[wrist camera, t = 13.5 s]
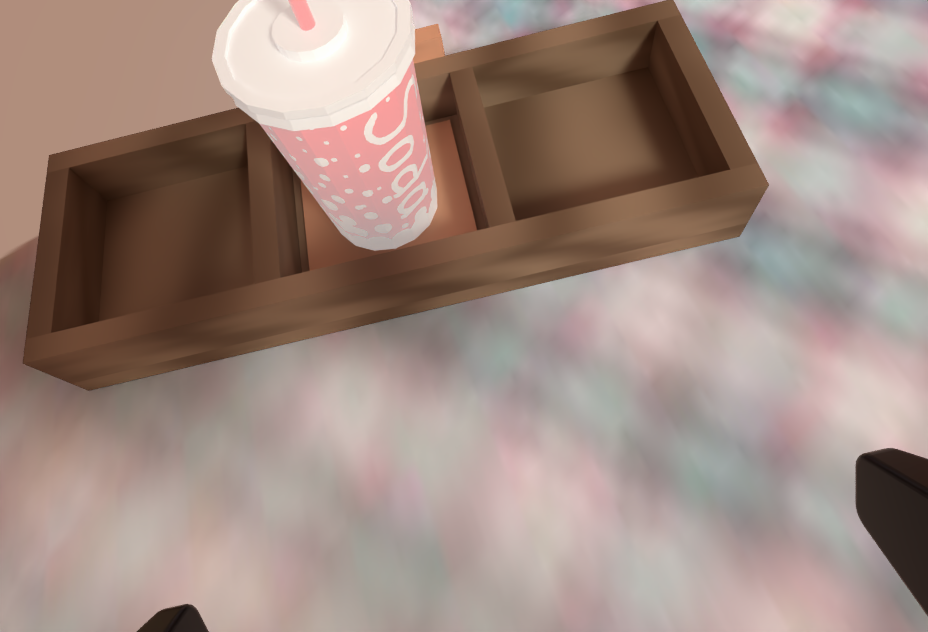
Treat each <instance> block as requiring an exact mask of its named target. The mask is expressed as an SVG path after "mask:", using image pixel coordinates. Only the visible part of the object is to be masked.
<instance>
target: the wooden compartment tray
mask: <svg viewBox="0 0 928 632" xmlns="http://www.w3.org/2000/svg"><path fill="white" fill-rule="evenodd" d="M413 62H414V68H415V73H416V79H417V84H418V90H419V95H420V100H421V106H422V111H423V117H424V122H425V128H426V133H427V139H428V144H429V150H430V155H431V161H432V166H433V172H434V177H435V182H436V188H437V210H436V212H435V214H434V216H433V219H432V221H431V223H430V225H429V226H428V227H427V228H426V229H425V230H424V231H423V232H422V233H421V234H420V235H419V236H418V237H417V238H416V239H415V240H413V241H411V242H408V243H406V244H404V245H402V246H400V247H398V248H396V249H386V250H376V251H374V250H370V249H366V248H363V247H359V246H355V245H354V244H353V243H352V242H350V241H349V240H348V239H347V238H346V237H344V236H343V235H342V234H341V233H340V231H339V230H338V229H337V227H336V226H335V225H334V223H333V222H332V221H331V219H330V218H329V217H328V215H327V214H326V213H325V211H324V210H323V209H322V207H321V206H320V205H319V203H318V202H317V201H316V199H315V198H314V197H313V195H312V194H311V192H310V191H309V190H308V188H307V187H306V186H305V184H304V183H303V182H302V180H301V179H300V178H299V176H298V175H297V174H296V172H295V171H294V170H293V168H292V167H291V166H290V164H289V163H288V162H287V160H286V159H285V158H284V156H283V155H282V153H281V152H280V151H279V149H278V148H277V147H276V145H275V144H274V143H273V141H272V140H271V139H270V137H269V136H268V135H267V133H266V132H265V131H264V129H263V128H262V127H261V125H260V124H259V123H258V122H257V121H255V120H254V119H253V118H251V117H250V116H249V115H248V114H246V113H245V112H244V111H242V110H241V109H240V108H236V109H232V110H228V111H224V112H220V113H216V114H212V115H208V116H204V117H200V118H196V119H192V120H188V121H184V122H180V123H176V124H172V125H168V126H164V127H160V128H156V129H152V130H148V131H144V132H140V133H136V134H132V135H128V136H124V137H120V138H116V139H112V140H108V141H104V142H100V143H96V144H92V145H88V146H84V147H80V148H76V149H72V150H68V151H65V152H60V153H56V154H52V155H49V160H48V168H47V177H46V184H45V192H44V200H43V207H42V215H41V224H40V231H39V239H38V247H37V255H36V263H35V271H34V278H33V286H32V294H31V302H30V310H29V318H28V326H27V334H26V342H25V349H24V357H23V364H25V365H28V366H30V367H33V368H35V369H37V370H40V371H42V372H45V373H47V374H50V375H52V376H54V377H57V378H59V379H62V380H64V381H67V382H69V383H71V384H74V385H76V386H79V387H81V388H84V389H86V390H88V391H89V390H93V389H97V388H102V387H106V386H110V385H114V384H119V383H123V382H127V381H131V380H135V379H140V378H144V377H148V376H152V375H157V374H161V373H165V372H169V371H173V370H178V369H182V368H186V367H190V366H195V365H199V364H203V363H207V362H211V361H216V360H220V359H224V358H228V357H233V356H237V355H241V354H245V353H249V352H254V351H258V350H262V349H266V348H271V347H275V346H279V345H283V344H287V343H292V342H296V341H300V340H304V339H309V338H313V337H317V336H321V335H325V334H330V333H334V332H338V331H342V330H346V329H351V328H355V327H359V326H363V325H368V324H372V323H376V322H380V321H384V320H389V319H393V318H397V317H401V316H406V315H410V314H414V313H418V312H422V311H427V310H431V309H435V308H439V307H444V306H448V305H452V304H456V303H460V302H465V301H469V300H473V299H477V298H482V297H486V296H490V295H494V294H498V293H503V292H507V291H511V290H515V289H520V288H524V287H528V286H532V285H536V284H541V283H545V282H549V281H553V280H558V279H562V278H566V277H570V276H574V275H579V274H583V273H587V272H591V271H595V270H600V269H604V268H608V267H612V266H617V265H621V264H625V263H629V262H633V261H638V260H642V259H646V258H650V257H655V256H659V255H663V254H667V253H671V252H676V251H680V250H684V249H688V248H693V247H697V246H701V245H705V244H709V243H714V242H718V241H722V240H726V239H731V238H735V237H739V236H740V235H741V233H742V232H743V230H744V228H745V226H746V225H747V223H748V221H749V219H750V217H751V216H752V214H753V212H754V210H755V209H756V207H757V205H758V203H759V202H760V200H761V198H762V196H763V195H764V193H765V191H766V189H767V188H768V186H769V184H768V182H767V180H766V178H765V176H764V174H763V172H762V170H761V168H760V166H759V165H758V163H757V161H756V159H755V157H754V155H753V153H752V151H751V149H750V147H749V145H748V143H747V141H746V139H745V138H744V136H743V134H742V132H741V130H740V128H739V126H738V124H737V122H736V120H735V118H734V116H733V114H732V112H731V110H730V109H729V107H728V105H727V103H726V101H725V99H724V97H723V95H722V93H721V91H720V89H719V87H718V85H717V83H716V82H715V80H714V78H713V76H712V74H711V72H710V70H709V68H708V66H707V64H706V62H705V60H704V58H703V56H702V55H701V53H700V51H699V49H698V47H697V45H696V43H695V41H694V39H693V37H692V35H691V33H690V31H689V29H688V28H687V26H686V24H685V22H684V20H683V18H682V16H681V14H680V12H679V10H678V8H677V6H676V4H675V2H674V1H673V0H666V1H662V2H658V3H654V4H650V5H646V6H642V7H638V8H634V9H630V10H626V11H622V12H618V13H614V14H610V15H606V16H602V17H598V18H594V19H590V20H586V21H582V22H578V23H574V24H570V25H566V26H562V27H558V28H554V29H550V30H546V31H542V32H539V33H535V34H531V35H527V36H523V37H519V38H515V39H511V40H507V41H503V42H499V43H495V44H491V45H487V46H483V47H479V48H475V49H471V50H467V51H463V52H459V53H455V54H451V55H447V56H445V54H444V48H443V43H442V38H441V34H440V30H439V26H438V24H435V25H431V26H427V27H423V28H419V29H415V55H414V57H413Z"/></svg>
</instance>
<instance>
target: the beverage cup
mask: <svg viewBox="0 0 928 632" xmlns="http://www.w3.org/2000/svg"><path fill="white" fill-rule="evenodd" d="M414 55H415V25H414V23H413V21H412V8H411V4H410V2H409V0H239V1H238V2H237V3H236V4H235V5H234V6H233V8H232V9H231V11H230V12H229V14H228V15H227V17H226V18H225V20H224V21H223V22H222V24H221V25H220V27H219V29H218V30H217V33H216V38H215V44H214V49H213V55H212V62H213V65H214V67H215V70H216V72H217V75H218V78H219V81H220V83H221V86H222V87H223V89H224V90H225V92H226V93H227V94H228V95H230V96H231V97H232V98H233V100H234V103H235V105H236V106H237V107H239V108H240V109H241V110H242V111H244V112H245V113H246V114H248V115H249V116H250V117H251V118H253V119H254V120H255V121H257V122H258V123H259V124H260V125H261V127H262V128H263V129H264V131H265V132H266V133H267V135H268V136H269V137H270V139H271V140H272V141H273V143H274V144H275V145H276V147H277V148H278V149H279V151H280V152H281V153H282V155H283V156H284V158H285V159H286V160H287V162H288V163H289V164H290V166H291V167H292V168H293V170H294V171H295V172H296V174H297V175H298V176H299V178H300V179H301V180H302V182H303V183H304V184H305V186H306V187H307V188H308V190H309V191H310V192H311V194H312V195H313V197H314V198H315V199H316V201H317V202H318V203H319V205H320V206H321V207H322V209H323V210H324V211H325V213H326V214H327V215H328V217H329V218H330V219H331V221H332V222H333V223H334V225H335V226H336V227H337V229H338V230H339V231H340V233H341V234H342V235H343V236H344V237H346V238H347V239H348V240H349V241H350V242H352V243H353V244H354V245H355V246H359V247H363V248H366V249H370V250H374V251H376V250H386V249H396V248H398V247H400V246H402V245H404V244H406V243H408V242H411V241H413V240H415V239H416V238H417V237H418V236H419V235H420V234H421V233H422V232H423V231H424V230H425V229H426V228H427V227H428V226H429V225H430V223H431V221H432V219H433V216H434V214H435V212H436V210H437V188H436V182H435V177H434V172H433V166H432V161H431V155H430V150H429V144H428V139H427V133H426V128H425V122H424V117H423V111H422V106H421V100H420V95H419V90H418V84H417V79H416V73H415V68H414V62H413V57H414Z"/></svg>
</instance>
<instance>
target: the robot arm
mask: <svg viewBox="0 0 928 632" xmlns="http://www.w3.org/2000/svg"><path fill="white" fill-rule="evenodd" d="M856 509H857V513H858V516H859V518H860V520H861V522H862V524H863V525H864V527H865V528H866V530H867V531H868V532H869V534H870V535H871V537H872V538H873V539H874V541H875V542H876V544H877V545H878V547H879V548H880V549H881V551H882V552H883V554H884V555H885V556H886V558H887V559H888V561H889V562H890V563H891V565H892V566H893V568H894V569H895V571H896V572H897V573H898V575H899V576H900V578H901V579H902V580H903V582H904V583H905V585H906V586H907V588H908V589H909V590H910V592H911V593H912V595H913V596H914V597H915V599H916V600H917V602H918V603H919V605H920V606H921V607H922V609H923V610H924V612H925V613H926V614H927V616H928V459H926V458H923V457H920V456H917V455H914V454H911V453H908V452H904V451H901V450H898V449H894V448H886V449H881V450H877V451H872V452H868V453H864V454H862V455H860V456H859V457H858V459H857V461H856ZM137 632H209V631H208V629H207V627H206V626H205V624H204V622H203V620H202V618H201V616H200V614H199V612H198V610H197V609H196V608H195V607H194V606H193V605H190V604H184V605H180V606H175V607H171V608H166V609H163V610H161V611H159V612H158V613H156V614H155V615H154V616H153V617H152V618H151V619H150V620H149V621H148V622H147V623H145V624H144V625H143V626H142V627H141V628H140V629H139V630H138V631H137Z"/></svg>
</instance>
